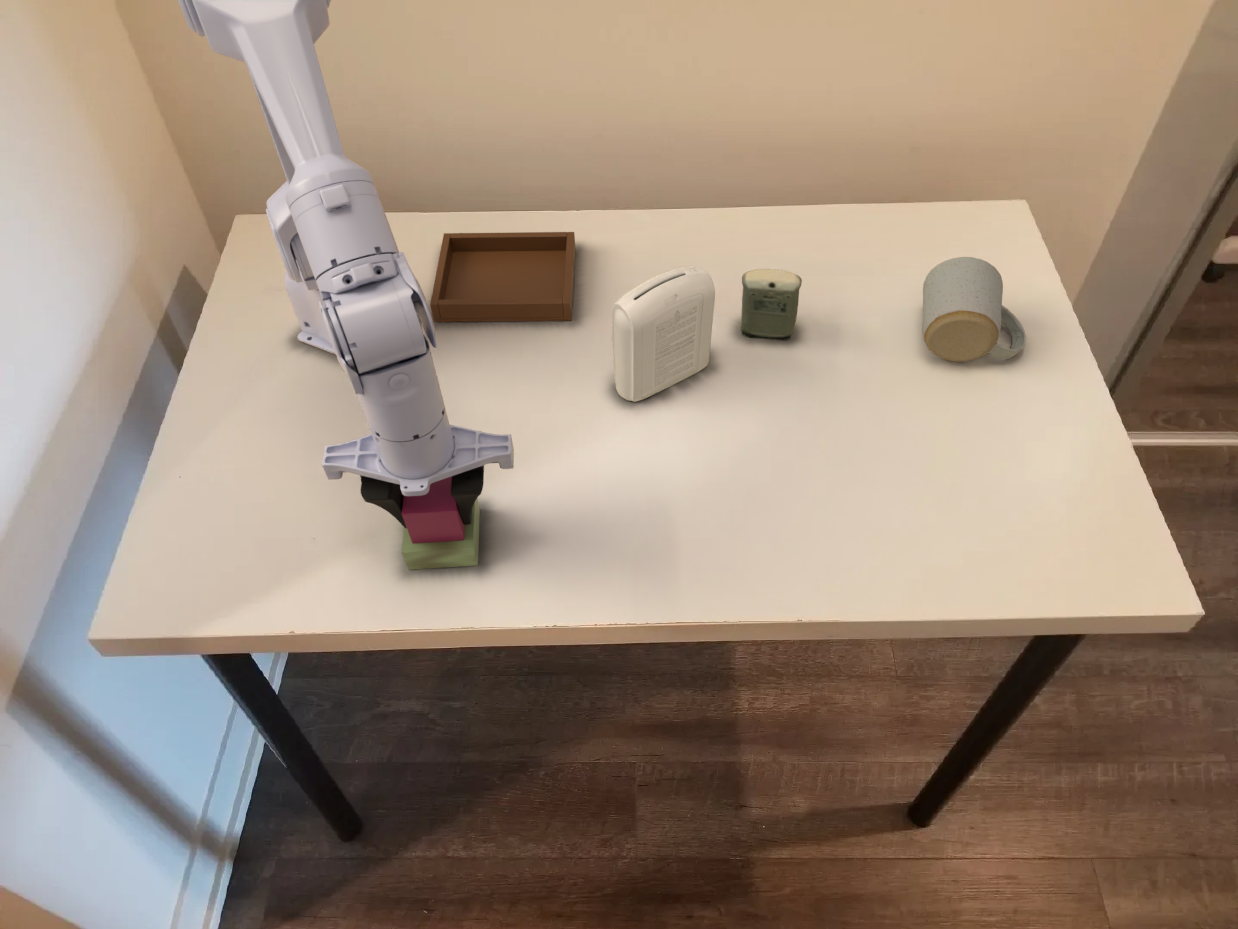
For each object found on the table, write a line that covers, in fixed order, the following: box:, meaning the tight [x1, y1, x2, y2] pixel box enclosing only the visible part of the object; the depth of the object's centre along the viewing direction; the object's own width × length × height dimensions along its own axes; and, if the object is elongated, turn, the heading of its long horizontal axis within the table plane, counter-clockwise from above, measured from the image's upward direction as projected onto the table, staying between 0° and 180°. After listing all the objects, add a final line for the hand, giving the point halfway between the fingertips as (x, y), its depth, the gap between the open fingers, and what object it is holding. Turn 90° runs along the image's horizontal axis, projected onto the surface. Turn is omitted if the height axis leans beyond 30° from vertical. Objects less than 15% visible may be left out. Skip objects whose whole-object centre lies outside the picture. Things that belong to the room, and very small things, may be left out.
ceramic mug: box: [921, 256, 1027, 363], centre depth 92 cm, size 11×8×8 cm
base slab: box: [401, 498, 481, 571], centre depth 81 cm, size 6×6×3 cm
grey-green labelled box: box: [740, 268, 803, 341], centre depth 94 cm, size 6×5×8 cm
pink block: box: [402, 476, 465, 543], centre depth 78 cm, size 4×4×4 cm
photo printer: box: [611, 265, 716, 403], centre depth 89 cm, size 10×4×12 cm, turn 123°
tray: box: [429, 231, 577, 323], centre depth 101 cm, size 15×12×2 cm
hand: (438, 516), depth 79 cm, fingers closed on pink block, 4 cm apart
